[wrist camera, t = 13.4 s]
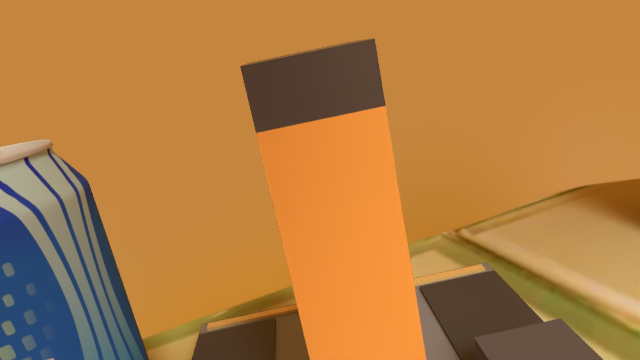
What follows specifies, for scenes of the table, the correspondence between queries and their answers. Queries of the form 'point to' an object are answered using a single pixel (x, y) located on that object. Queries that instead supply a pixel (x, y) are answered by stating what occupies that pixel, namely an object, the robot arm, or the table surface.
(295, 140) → the orange lever
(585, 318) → the table surface
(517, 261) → the table surface
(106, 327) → the beer can
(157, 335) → the table surface
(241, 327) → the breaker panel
